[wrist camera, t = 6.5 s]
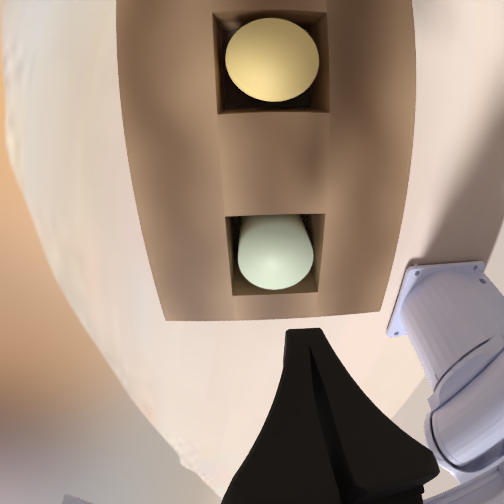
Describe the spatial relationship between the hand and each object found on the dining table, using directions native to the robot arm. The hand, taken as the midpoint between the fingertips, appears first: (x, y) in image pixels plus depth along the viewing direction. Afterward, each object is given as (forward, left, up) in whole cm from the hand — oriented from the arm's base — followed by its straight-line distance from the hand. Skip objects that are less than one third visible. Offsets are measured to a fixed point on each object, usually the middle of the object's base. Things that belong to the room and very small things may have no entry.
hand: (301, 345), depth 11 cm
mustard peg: (+1, -11, -10) cm, 14 cm away
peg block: (+1, -6, -10) cm, 12 cm away
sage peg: (+1, -1, -10) cm, 10 cm away
